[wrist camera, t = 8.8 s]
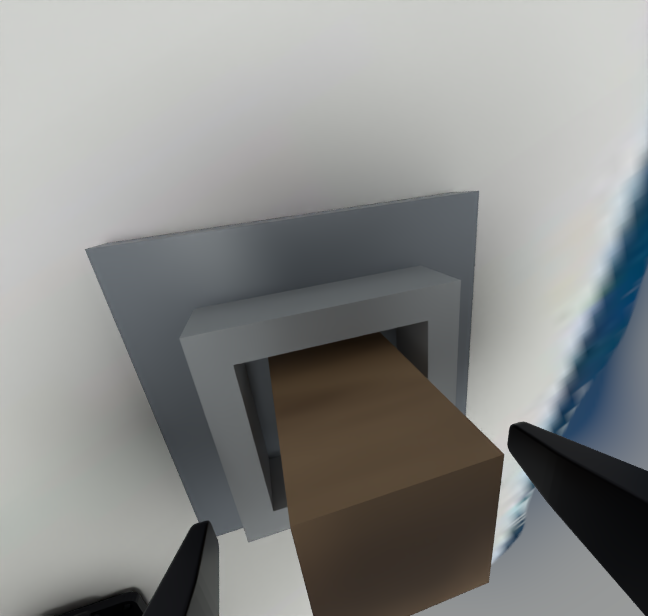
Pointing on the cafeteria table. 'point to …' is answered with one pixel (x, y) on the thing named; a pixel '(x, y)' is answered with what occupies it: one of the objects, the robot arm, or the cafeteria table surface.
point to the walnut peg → (381, 480)
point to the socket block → (282, 327)
